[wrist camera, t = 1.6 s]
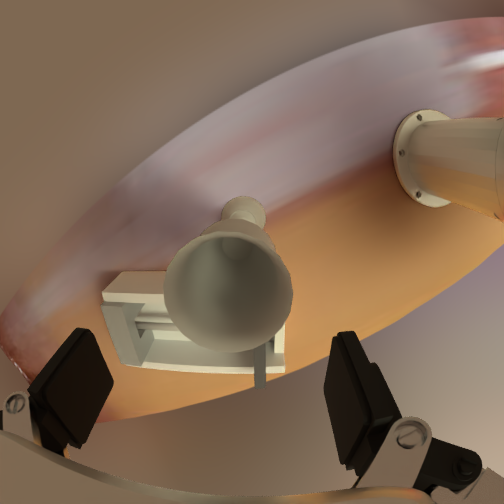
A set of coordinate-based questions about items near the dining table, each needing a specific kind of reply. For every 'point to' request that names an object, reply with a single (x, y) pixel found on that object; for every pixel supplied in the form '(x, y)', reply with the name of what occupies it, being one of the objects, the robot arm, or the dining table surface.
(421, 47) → the dining table surface
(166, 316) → the grey bracket
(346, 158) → the dining table surface
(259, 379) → the pusher
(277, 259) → the chalice
